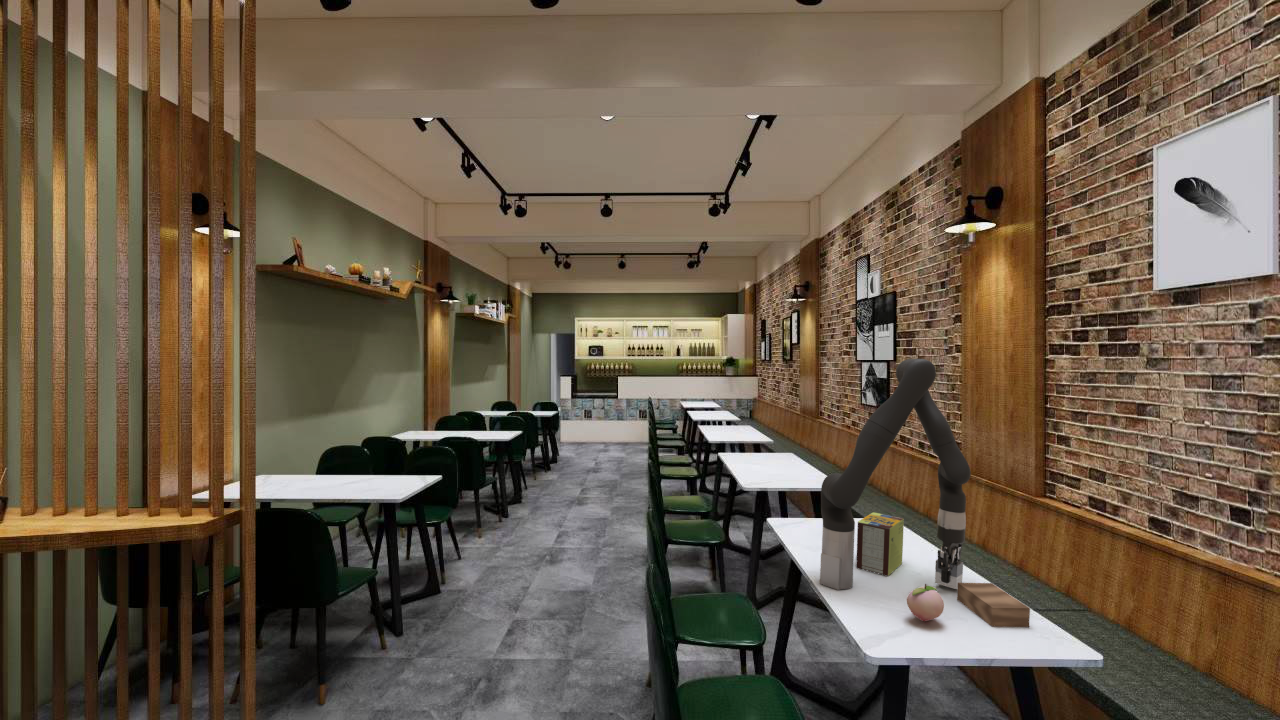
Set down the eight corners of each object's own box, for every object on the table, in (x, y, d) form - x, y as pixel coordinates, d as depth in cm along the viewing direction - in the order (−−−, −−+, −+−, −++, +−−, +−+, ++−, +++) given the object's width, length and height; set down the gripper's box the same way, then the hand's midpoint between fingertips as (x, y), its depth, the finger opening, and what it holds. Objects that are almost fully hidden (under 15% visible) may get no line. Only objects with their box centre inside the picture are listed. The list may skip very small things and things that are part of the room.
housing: (956, 589, 174) (957, 566, 174) (934, 582, 178) (935, 559, 178) (962, 585, 177) (963, 562, 177) (940, 578, 182) (941, 556, 182)
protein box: (902, 563, 197) (904, 518, 197) (888, 576, 185) (890, 528, 185) (870, 555, 204) (872, 511, 203) (855, 568, 192) (856, 521, 192)
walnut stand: (1029, 626, 154) (1029, 608, 154) (991, 626, 153) (992, 607, 153) (991, 600, 170) (991, 583, 170) (957, 599, 169) (957, 582, 169)
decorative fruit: (931, 633, 149) (933, 594, 149) (901, 620, 156) (902, 583, 155) (949, 623, 155) (951, 586, 154) (919, 611, 161) (921, 575, 161)
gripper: (946, 517, 185) (944, 570, 185) (929, 525, 175) (926, 582, 176) (973, 523, 180) (970, 578, 180) (956, 532, 170) (953, 590, 170)
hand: (948, 579), depth 178 cm, fingers closed on housing, 5 cm apart
